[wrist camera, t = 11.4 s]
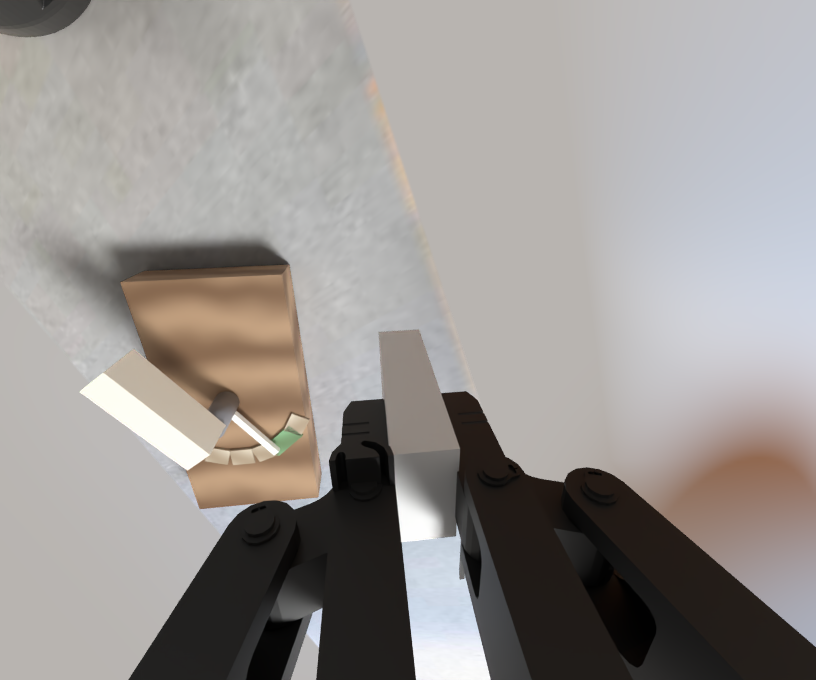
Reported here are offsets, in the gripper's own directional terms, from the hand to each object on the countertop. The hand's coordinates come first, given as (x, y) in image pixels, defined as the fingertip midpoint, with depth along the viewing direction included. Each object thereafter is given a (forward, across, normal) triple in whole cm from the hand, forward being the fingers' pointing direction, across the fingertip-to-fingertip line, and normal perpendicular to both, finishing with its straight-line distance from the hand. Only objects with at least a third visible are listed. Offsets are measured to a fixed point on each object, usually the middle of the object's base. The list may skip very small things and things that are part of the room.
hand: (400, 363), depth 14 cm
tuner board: (+26, -16, -16) cm, 35 cm away
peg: (+22, -16, -15) cm, 32 cm away
